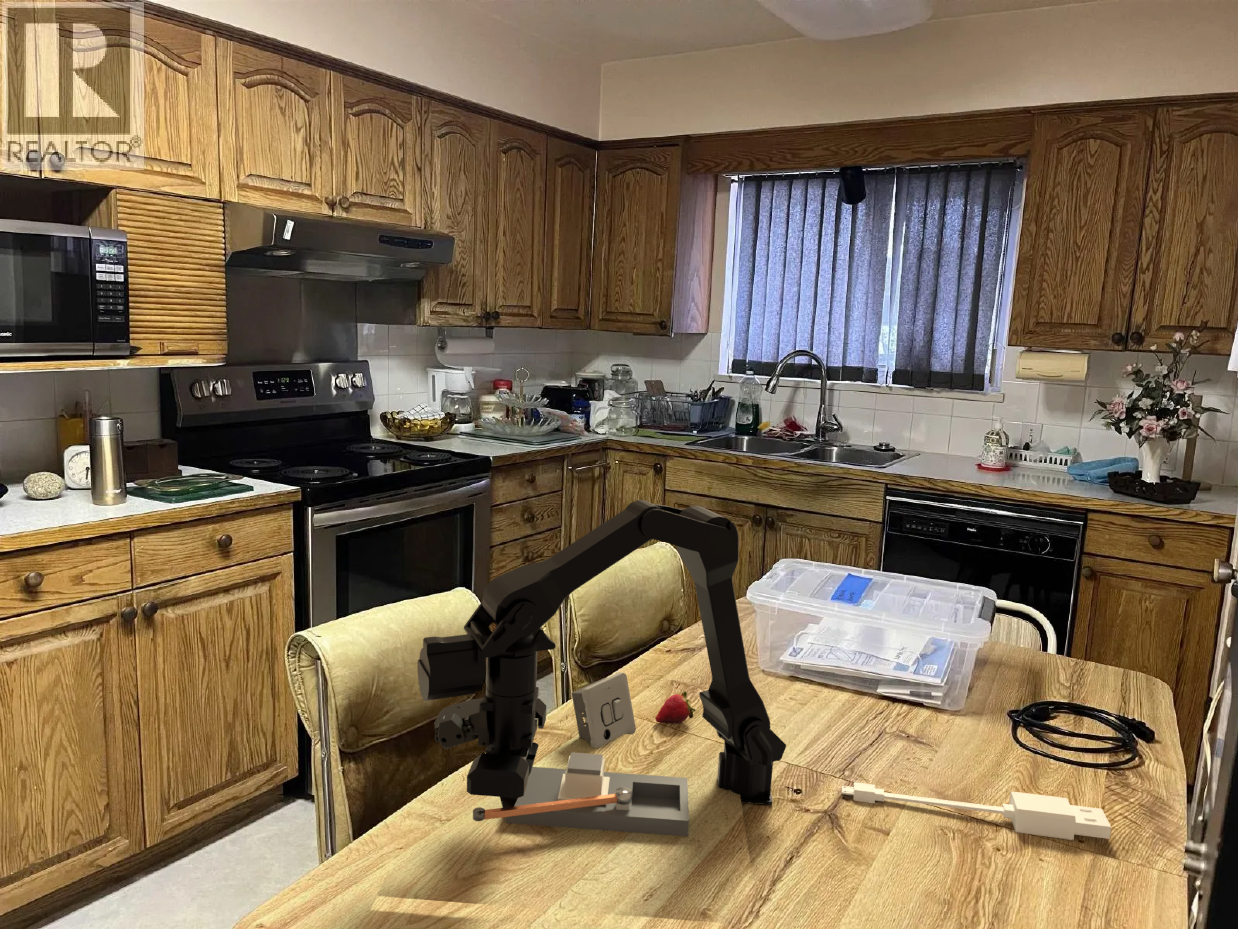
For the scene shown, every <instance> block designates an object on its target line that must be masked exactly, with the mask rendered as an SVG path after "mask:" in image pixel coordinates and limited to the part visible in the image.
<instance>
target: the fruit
mask: <svg viewBox="0 0 1238 929" xmlns="http://www.w3.org/2000/svg"><path fill="white" fill-rule="evenodd" d="M687 696H688V693H687V691H683V692H682V693H681V694H676V693H675V694H672V695H671V696H669V697H668V698H666V699H665V701H664V703H663V705H662V706H661V707H660V710H659V711H658V713H657V714H656V716H655V718H654V719H655V721H656V722H657V723H660V724H682V723H683V722H685V721H686V720H687V719H693V718H694V712H696V709H695V708H694V707H691V704H690V702H689V701H690V700H689V699H688V698H687Z"/></svg>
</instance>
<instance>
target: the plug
mask: <svg viewBox="0 0 1238 929" xmlns="http://www.w3.org/2000/svg"><path fill="white" fill-rule="evenodd" d="M605 761H606V760H605V757H603V754H601V753H599V754H598V753H584V752H574V751H573V752H571V753H570V755H569V756H568V761H567V765H566V768H565V769H566V773H565V774H563V777H562V781H561V786H560V791H559V795H558V801H561V800H569V799H577V798H585V797H593V796H601V795H608V789H609V781H610V777H604V772H605ZM604 805H607V804H604Z"/></svg>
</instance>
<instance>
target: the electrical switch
mask: <svg viewBox="0 0 1238 929" xmlns="http://www.w3.org/2000/svg"><path fill="white" fill-rule="evenodd" d="M571 699H572V704H573V708H574V715H575V720H576V726H577V733H578V737H579V739H581V740H584V741H586V742H587V743H590V746H591V748H593V749H598V748H601V747H603V746H605V745H606V744H609V743H611V742H612V741H614V740H616V739H617V738H620V737H621V736H623V735H634V734H635V733H636V730H637V727H636V721H635V715H634V710H633V704H632V700H631V699H632V698H631V694H630V687H629V682H628V676H627V674H626V673H625V672H618V673H615V674H613V675H611V676H608V677H603V678H601V679H599V680H596V681H595V682H592V683H589V684H588V685H586V686H584V687H581V688H578V689H576V690H574V691H572V692H571Z"/></svg>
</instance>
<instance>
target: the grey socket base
mask: <svg viewBox="0 0 1238 929" xmlns="http://www.w3.org/2000/svg"><path fill="white" fill-rule="evenodd" d="M566 769H567V768H556V767H555V768H554V767H543V766H542V767H541V766H539V767H538V766H533V767H532V770H531V773H530V775H529V776H528V783H527V786H526V790H525V793H524V796H522V797H519V798H518V799H517V801H516V803H515V806H520V805H529V804H537V803H545V802H553V801H558V795H559V791H560V786H561V781H562V777H563V774H565V773H566ZM604 777H610V781H609V789H608V795H609V794H615V793H616V789H617V788H619V787H627V788H630V789H631V790H632V801H631V803H630V804H627V805H621V804H618V803H611V804H607V805H596V806H588V807H580V808H572V809H564V810H556V811H549V812H541V813H533V814H525V815H517V816H509V817H505V824H516V825H526V826H527V825H528V826H539V827H540V826H541V827H543V826H544V827H553V828H554V827H556V828H569V829H582V830H595V831H610V832H623V833H624V832H625V833H633V834H634V833H636V834H649V835H650V834H652V835H664V836H665V835H666V836H675V837H676V836H678V837H689V830H690V829H689V826H690V811H689V810H690V808H689V786H688V777H682V776H681V777H680V776H679V777H678V776H665V775H653V774H637V773H627V772H626V773H625V772H611V771H610V772H609V771H604Z"/></svg>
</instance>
